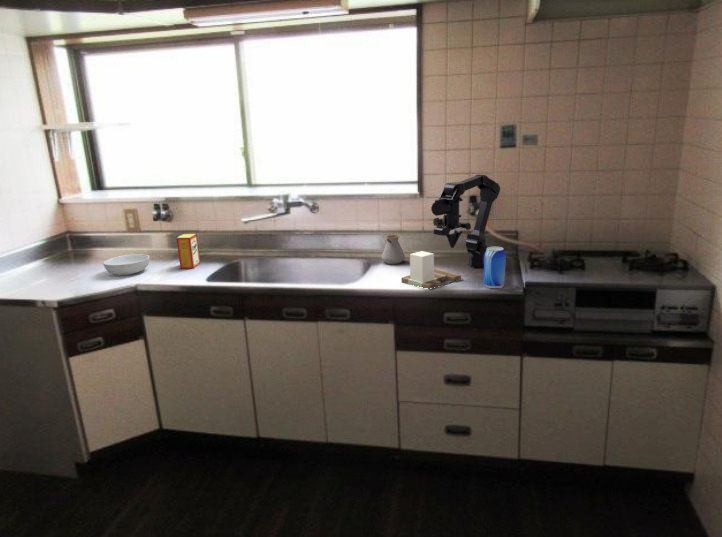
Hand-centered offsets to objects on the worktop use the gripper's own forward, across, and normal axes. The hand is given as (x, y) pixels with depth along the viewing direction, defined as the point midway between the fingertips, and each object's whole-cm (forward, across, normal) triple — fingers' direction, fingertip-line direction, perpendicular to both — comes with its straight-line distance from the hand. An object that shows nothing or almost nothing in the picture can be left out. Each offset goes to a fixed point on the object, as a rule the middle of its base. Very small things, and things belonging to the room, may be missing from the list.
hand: (452, 247), depth 233 cm
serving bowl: (+12, +103, -117) cm, 156 cm away
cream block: (+10, +20, 0) cm, 22 cm away
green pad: (+12, +20, 0) cm, 23 cm away
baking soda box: (+12, +76, -105) cm, 130 cm away
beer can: (+12, +3, +24) cm, 27 cm away
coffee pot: (+12, +8, -31) cm, 34 cm away
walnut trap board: (+12, +14, 0) cm, 18 cm away
